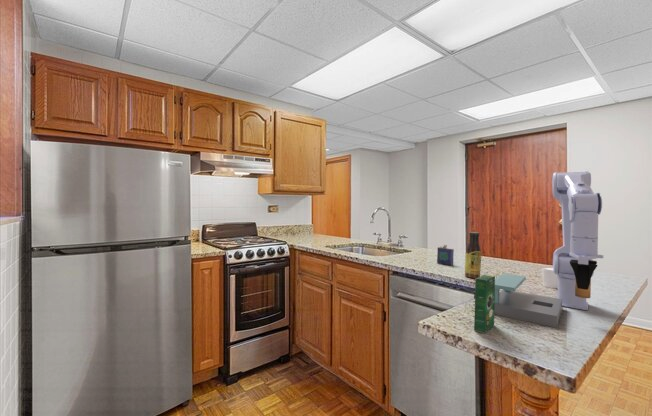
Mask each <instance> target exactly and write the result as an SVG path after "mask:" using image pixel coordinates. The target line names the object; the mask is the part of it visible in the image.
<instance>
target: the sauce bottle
mask: <svg viewBox="0 0 652 416" xmlns="http://www.w3.org/2000/svg"><path fill="white" fill-rule="evenodd" d="M468 234H469V235H468V236H469V240H468V241H469V242H468V244H466V248H465V261H464V262H465V265H464V275H465V278H466V277H467V278H470V279H475V278H478V277H480V276H481V268H482V267H481V265H482V249H481V246H480V242H479V241H480V233H479V232H475V231H474V232H473V231H471V232H470V231H469V233H468Z"/></svg>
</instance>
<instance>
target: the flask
mask: <svg viewBox="0 0 652 416" xmlns="http://www.w3.org/2000/svg"><path fill="white" fill-rule="evenodd" d="M454 251H455V250H454V248H448V245H447V244H443V246H438V247H437V254H436V255H437V256H436V257H437V258H436V259H437V260H436V262H437V263H436V264H438V265H445V266H450V267H451V266H452V267H453V266H454V253H455V252H454Z"/></svg>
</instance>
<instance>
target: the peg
mask: <svg viewBox="0 0 652 416" xmlns="http://www.w3.org/2000/svg"><path fill="white" fill-rule="evenodd" d="M591 285H592V279H591V280H590V285H589V288H588V290H586V289H579V288H578V287H577V284H576V278H575V296H577V297H581V298H586V299H591V294H592V293H591V291H592V290H591V287H592V286H591Z"/></svg>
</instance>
